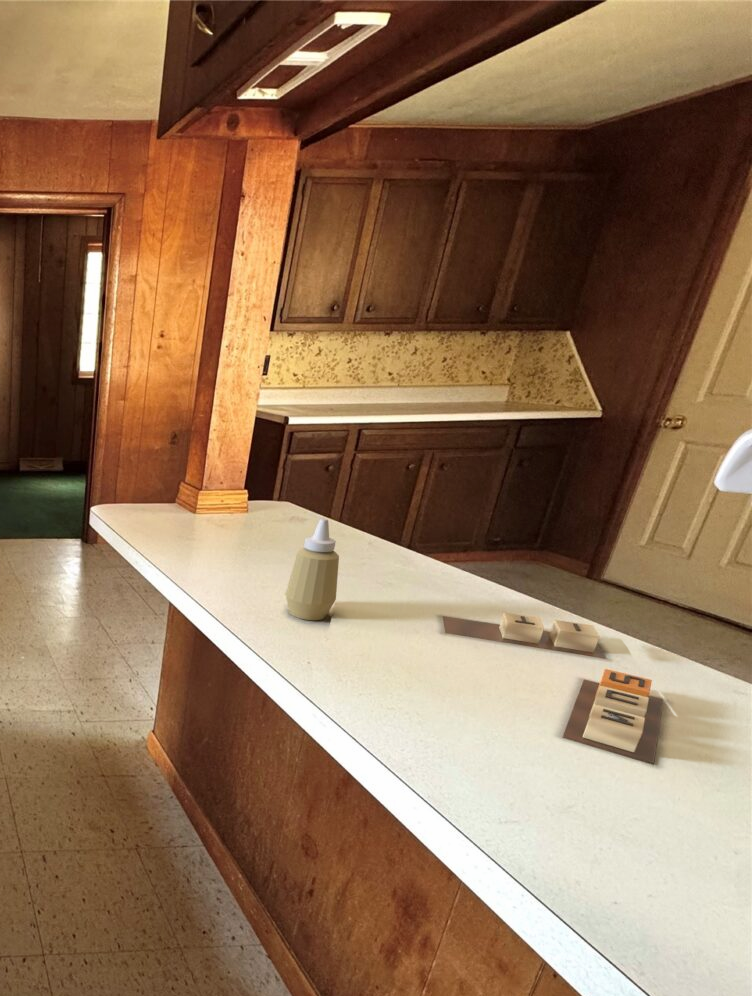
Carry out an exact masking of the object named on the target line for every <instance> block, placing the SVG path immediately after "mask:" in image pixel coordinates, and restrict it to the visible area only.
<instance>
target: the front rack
mask: <svg viewBox="0 0 752 996" xmlns="http://www.w3.org/2000/svg"><path fill="white" fill-rule="evenodd" d="M599 683H600V682H596V681H592V680H588V679H583V681H582V683H581V685H580V688H579V691H578V693H577V696H576V699H575V702H574V704H573V707H572V710H571V712H570V716H569V717H568V720H567V723H566V726H565V728H564V732H563V734H562V739H566V740H569V741H572V742H576V743H579V744H582V745H586V746H589V747H592V748H596V749H599V750H602V751H605V752H609V753H612V754H616V755H618V756H622V757H626V758H629V759H632V760H634V761H635V760H636V761H639V762H642V763H645V764H649V765H654V764H655V756H656V750H657V743H658V737H659V736H658V735H659V730H660V723H661V716H662V709H663V701H664V699H663V698H660V697H657V696H652V695H650V694H649V695H648V697H644V696H640V695H636V694H632V693H628V692H624V691H620V690H616V689H612V688H608V687H604V686H600V687H599V690H598V692H597V689H598V686H599ZM596 692H597V695H596ZM595 695H596V698H595Z"/></svg>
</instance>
